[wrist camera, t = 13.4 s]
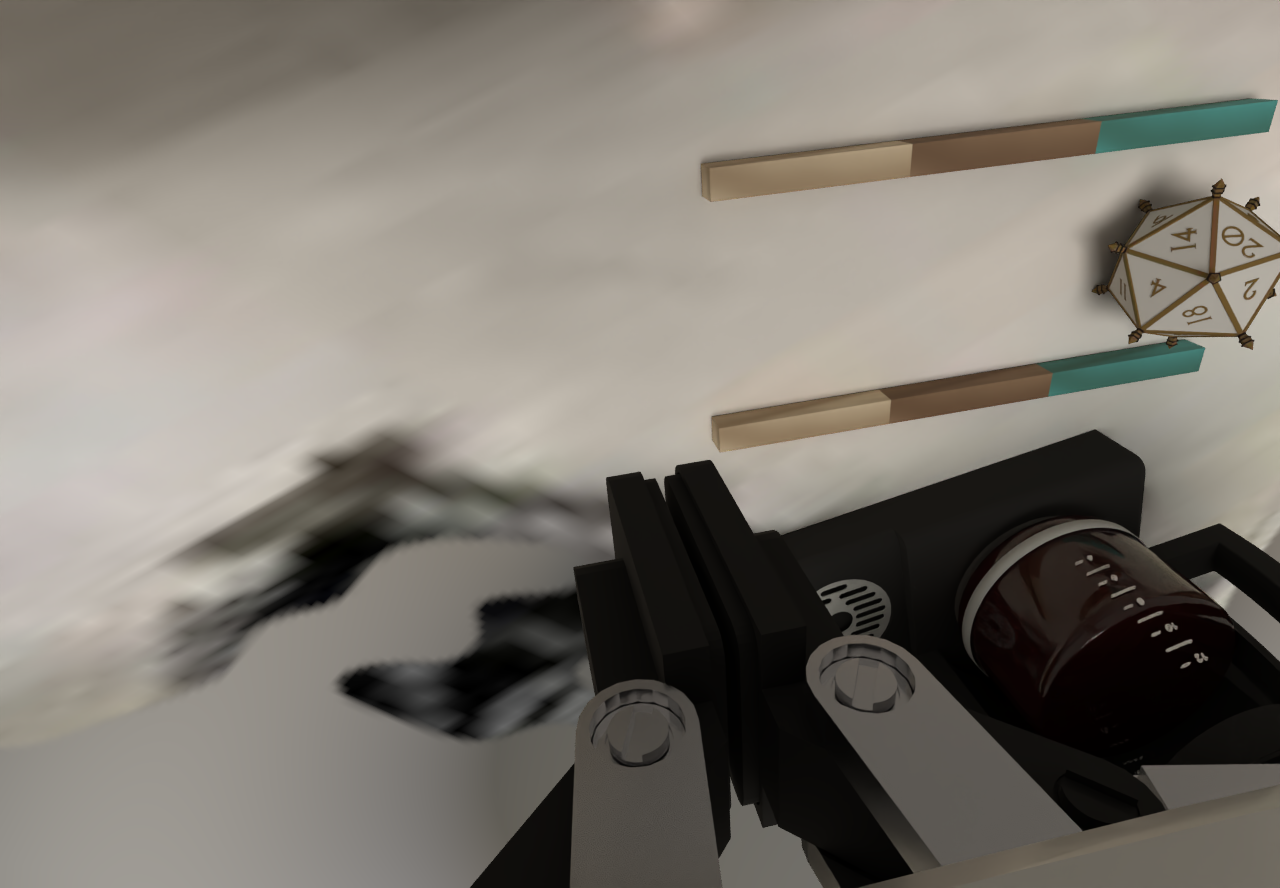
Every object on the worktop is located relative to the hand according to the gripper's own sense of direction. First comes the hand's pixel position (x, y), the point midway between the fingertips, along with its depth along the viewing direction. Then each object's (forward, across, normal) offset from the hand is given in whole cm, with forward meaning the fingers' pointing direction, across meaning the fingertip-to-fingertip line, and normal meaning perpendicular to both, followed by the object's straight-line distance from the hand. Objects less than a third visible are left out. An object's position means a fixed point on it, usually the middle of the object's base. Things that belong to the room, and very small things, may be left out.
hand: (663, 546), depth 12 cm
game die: (+27, -33, +6) cm, 43 cm away
